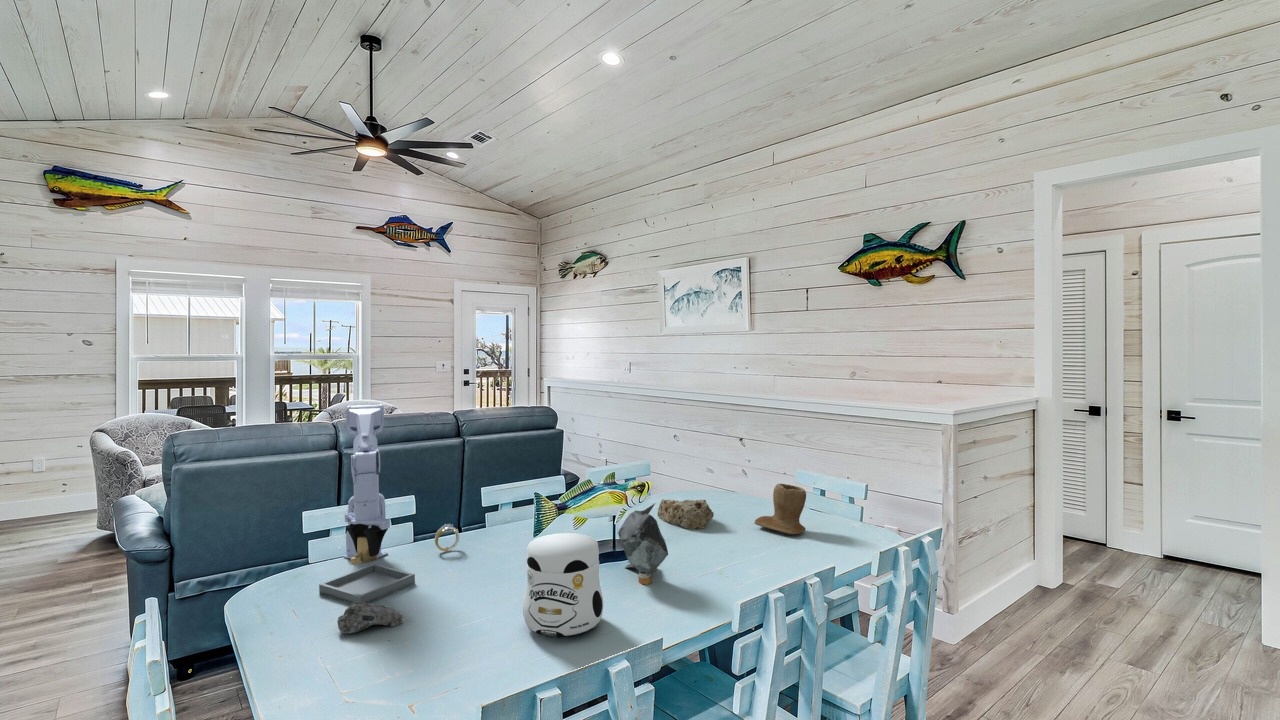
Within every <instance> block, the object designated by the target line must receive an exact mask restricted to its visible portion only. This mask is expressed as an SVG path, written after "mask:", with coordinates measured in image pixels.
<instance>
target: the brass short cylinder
mask: <svg viewBox="0 0 1280 720" xmlns="http://www.w3.org/2000/svg"><path fill="white" fill-rule="evenodd" d="M378 559H379V557H378V555H375V556H372V557H371V556H370V554H369V547H368V541H367V537H366V535H365V534H361V535H359V536H357V556H355V557H352V558H351V559H350V566H356V565H359V564H366V563H367V564H368V563H370V562H371V563H373V562H375V561H377V560H378Z"/></svg>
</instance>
